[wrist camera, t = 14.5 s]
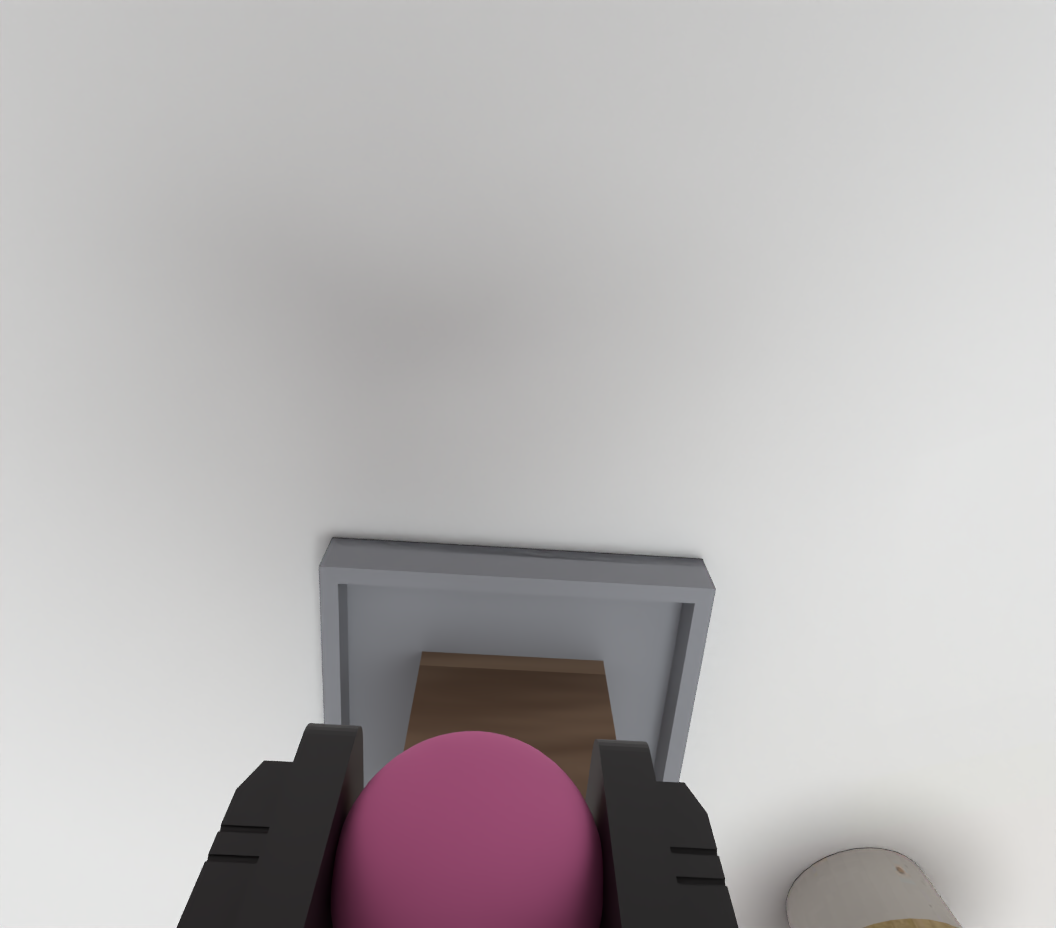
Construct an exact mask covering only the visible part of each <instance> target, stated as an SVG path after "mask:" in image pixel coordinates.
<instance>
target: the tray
mask: <svg viewBox="0 0 1056 928" xmlns="http://www.w3.org/2000/svg"><path fill="white" fill-rule="evenodd" d="M319 584H320V614H321V644H322V673H323V703H324V724H335V725H354V726H361V727H362V730H363V770H364V788H365V786H366V785H367V784H368V782H369V781H370V780H371V779H372V778H373V777H374V776H375V775H376V774H377V773H378V772H379V771H380V770H381V769H382V768H383V767H384V766H385V765H386V764H387V763H389V762H390V761H391V760H392V759H394V758H395V757H396V756H397V755H399V754H401V753H402V752H403V751H404V746H405V741H406V735H407V730H408V725H409V719H410V714H411V709H412V703H413V698H414V692H415V687H416V682H417V676H418V671H419V666H420V660H421V655H422V651H425V652H444V653H463V654H482V655H501V656H521V657H540V658H559V659H578V660H597V661H603V662H604V668H605V674H606V680H607V686H608V692H609V698H610V704H611V710H612V716H613V722H614V728H615V734H616V740H627V741H645V742H647V744H648V746H649V749H650V753H651V758H652V763H653V768H654V772H655V777H656V781H662V782H679V778H680V773H681V768H682V763H683V758H684V752H685V747H686V742H687V737H688V731H689V726H690V721H691V716H692V711H693V705H694V700H695V695H696V690H697V684H698V679H699V674H700V669H701V664H702V658H703V653H704V648H705V643H706V637H707V632H708V627H709V622H710V617H711V611H712V606H713V601H714V596H715V590H716V588H715V586H714V584H713V582H712V579H711V577H710V575H709V573H708V570H707V568H706V566H705V564H704V562H703V559H694V558H676V557H659V556H642V555H625V554H608V553H590V552H573V551H556V550H539V549H521V548H504V547H487V546H470V545H453V544H435V543H418V542H401V541H384V540H367V539H349V538H332V540H331V542H330V544H329V546H328V548H327V550H326V552H325V555H324V557H323V559H322V561H321V563H320V565H319Z"/></svg>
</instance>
